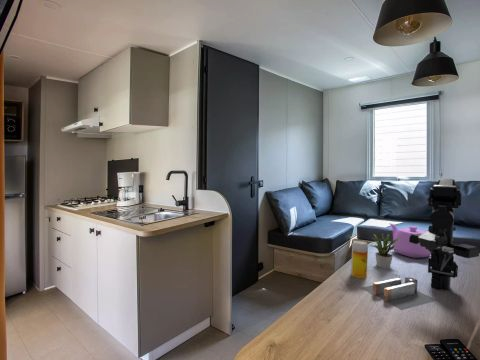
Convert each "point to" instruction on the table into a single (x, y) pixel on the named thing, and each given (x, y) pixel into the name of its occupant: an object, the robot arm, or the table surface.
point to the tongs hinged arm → (401, 289)
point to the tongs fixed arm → (385, 285)
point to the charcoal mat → (404, 299)
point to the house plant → (384, 251)
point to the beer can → (359, 259)
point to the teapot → (405, 245)
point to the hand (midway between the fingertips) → (439, 270)
